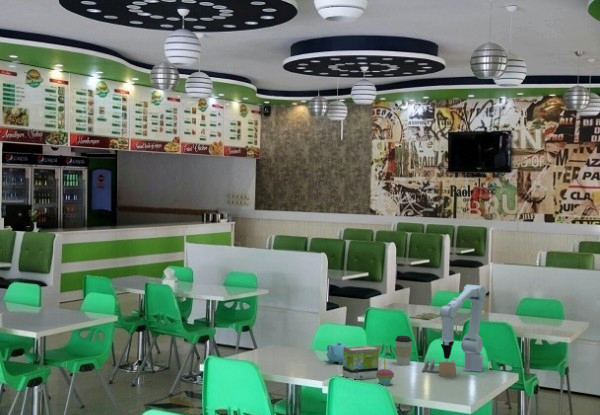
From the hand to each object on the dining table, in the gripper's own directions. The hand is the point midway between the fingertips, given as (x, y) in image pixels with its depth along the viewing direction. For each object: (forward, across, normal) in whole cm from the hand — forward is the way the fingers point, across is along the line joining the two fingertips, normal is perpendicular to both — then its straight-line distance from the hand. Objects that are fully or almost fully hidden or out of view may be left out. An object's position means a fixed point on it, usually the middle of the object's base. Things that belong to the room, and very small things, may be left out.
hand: (447, 357), depth 389 cm
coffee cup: (+10, -22, -25) cm, 35 cm away
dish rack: (+9, -12, -5) cm, 16 cm away
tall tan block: (+9, 0, 0) cm, 9 cm away
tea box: (+10, +16, -41) cm, 45 cm away
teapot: (+10, -14, -59) cm, 62 cm away
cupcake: (+10, +28, -27) cm, 40 cm away
